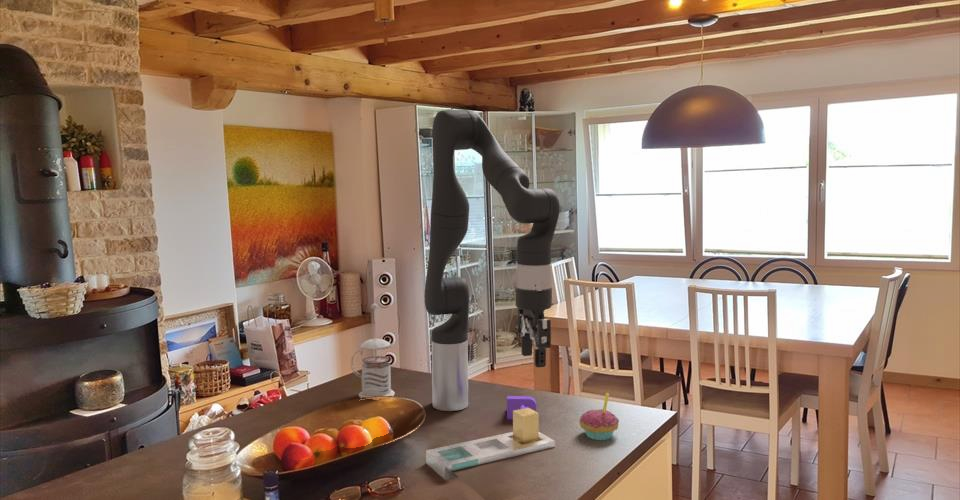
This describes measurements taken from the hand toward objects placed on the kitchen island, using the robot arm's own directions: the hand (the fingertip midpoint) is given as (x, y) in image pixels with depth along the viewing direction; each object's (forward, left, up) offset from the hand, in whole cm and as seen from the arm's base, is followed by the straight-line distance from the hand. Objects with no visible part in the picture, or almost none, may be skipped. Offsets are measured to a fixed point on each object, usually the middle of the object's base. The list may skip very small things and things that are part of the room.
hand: (533, 361), depth 146 cm
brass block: (-2, -1, -19) cm, 19 cm away
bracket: (-20, +10, -21) cm, 30 cm away
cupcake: (+2, +16, -20) cm, 26 cm away
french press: (-55, -16, -20) cm, 61 cm away
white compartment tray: (-2, -9, -20) cm, 22 cm away
